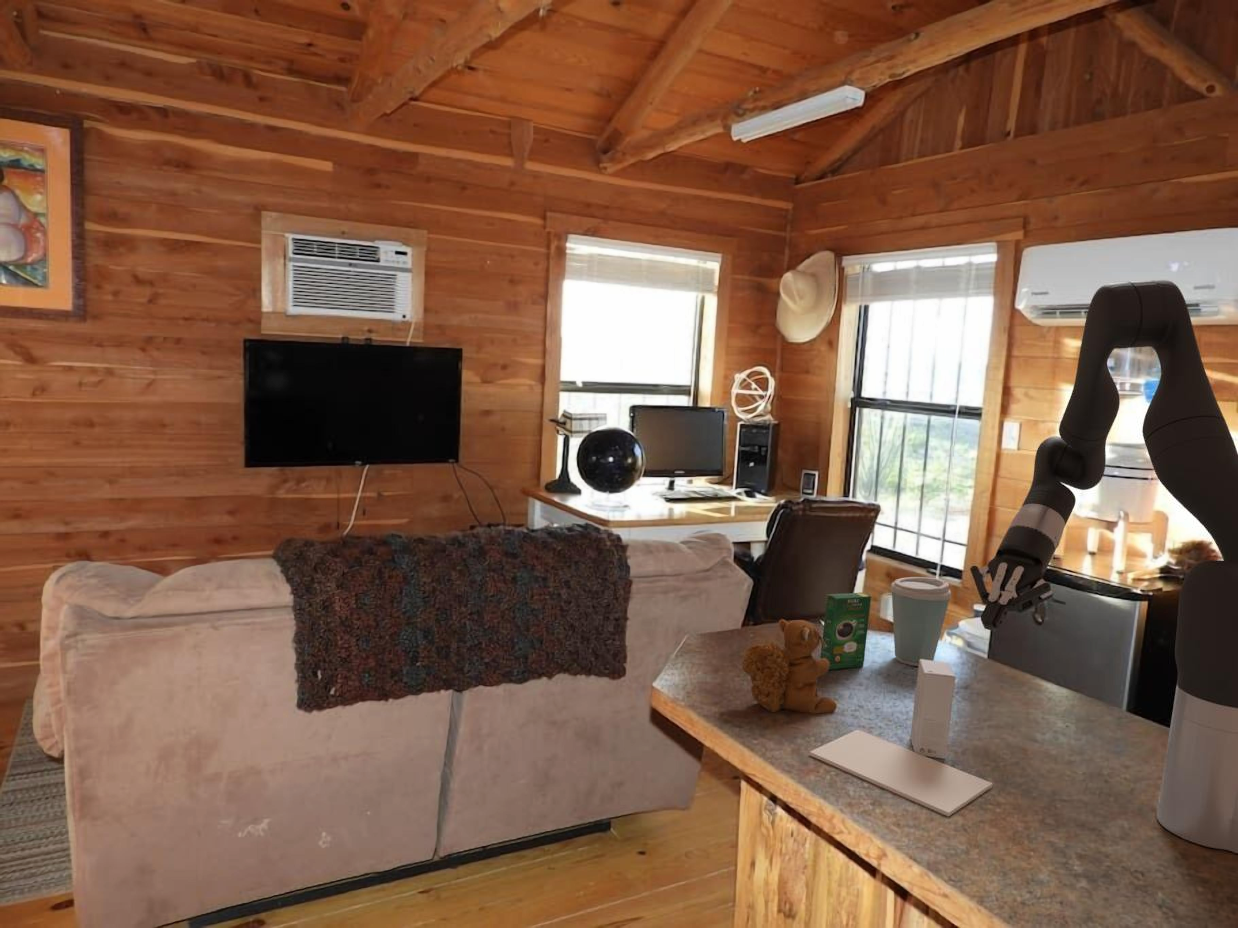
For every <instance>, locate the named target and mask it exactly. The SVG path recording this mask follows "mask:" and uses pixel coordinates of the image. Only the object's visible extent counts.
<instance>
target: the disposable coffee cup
mask: <svg viewBox="0 0 1238 928" xmlns="http://www.w3.org/2000/svg"><path fill="white" fill-rule="evenodd" d="M890 592H891V600H892V602H891V603H892V621H893V623H892V624H893V641H894V656H895V660H897V661H898V662H900V663H902V664H904V665H908V666H914V667H919V660H920V659H924V660H931V661H935V656H936V652H937V649H938V645H939V644H938V643H939V641H940V637H941V633H942V628H943V624H944V621H945V617H946V613H947V611H948V606H949V602H950V599H952V592H951V590H950V585H949V583H948V582H947V581H946V580H942V579H941V578H934V577H923V576H910V577H901V578H900V577H899V578H898V579H895V580H894V581H892V582H891V585H890Z"/></svg>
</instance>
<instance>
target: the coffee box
mask: <svg viewBox="0 0 1238 928" xmlns="http://www.w3.org/2000/svg"><path fill="white" fill-rule="evenodd" d="M826 595H827V596H826V602H825V603H826V604H825V605H826V606H825V614H824V622H823V631H822V638H823V640H824V642H825V644H826V646H827V647H825V645H824V642H823V640H822V642H823V645H824V647H825V648H824V649H823V646H822V645H821V649H820V657H819V659H822V658H826V659H827V660H828V661H829V663H830V667H829V670H828V671H831V670H834V671H835V670H839V669H841V670H842V669H849V668H858V667H864V662H865V656H866V655H865V653H866V644H867V643H866V642H867V635H868V626H869V618H870V611H871V601H872V595H869V594H867V593H864V592H851V593H850V592H849V593H848V592H847V593H831V594H830V593H829V594H826Z"/></svg>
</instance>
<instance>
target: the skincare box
mask: <svg viewBox="0 0 1238 928" xmlns="http://www.w3.org/2000/svg"><path fill="white" fill-rule="evenodd" d="M917 668H918V669H917V678H916V679H917V680H916V685H915V694H914V695H915V696H914V703H913V711H912V712H913V713H912V719H911V720H912V722H911V728H910V737H909V738H910V741H911V743H912V748H913V752H915V753H918V754H920V755H923V756H925V757H929V758H930V757H931V758H938V759H947V751H948V750H947V749H948V742H949V734H950V733H949V732H950V727H951V726H950V725H951V718H952V708H953V702H954V700H953V699H954V692H955V684H956V675H955V673H954V671H953V669H952V667H951V666H950V663H949V662H945V661H938V660H933V661H931V660H924V659H920V660H919V666H918V667H917Z"/></svg>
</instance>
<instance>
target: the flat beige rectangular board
mask: <svg viewBox="0 0 1238 928" xmlns="http://www.w3.org/2000/svg"><path fill="white" fill-rule="evenodd" d="M809 756H810V757H813V758H814V759H818V760H820V761H822V762H824V763H827V764H828V765H830V766H834V767H835V768H838V769H839V770H842V771H845V772H847V773H848V774H851V775H854V776H855V777H858V778H860V779H863V780H864V781H867V782H869V783H872V784H874V785H876V786H878V787H880V788H883V789H886V790H888V791H889V792H892V793H894V794H896V795H899V796H901V797H903V798H906V799H908V800H910V801H912V802H915V803H917V804H919V805H922V806H923V807H926V808H928V809H930V810H932V811H935V812H936V813H940V814H942V815H944V816H946V817H950V816H951V815H953V814H955V813H956V812H957V811H959V810H961V809H962V808H963V807H965V806H966V805H968V804H969V803H971V802H972V801H974V800H975V799H977V798H978V797H980V796H981V795H983V794H984V793H986V792H987V791H989V790H990V789H992V788H993V783H992V782H990V781H987V780H985V779H983V778H980V777H979V776H975V775H973V774H970V773H967V772H965V771H962V770H959V769H957V768H954V767H953V766H949V765H947V764H946V763H942V762H940V761H938V760H935V759H933V758H930V757H929V756H923V755H920V754H918V753H915V752H914V750H913V751H912V750H910V749H907V748H905V747H903V746H900V745H898V744H895V743H892V742H890V741H887V740H885V739H884V738H883V739H882V738H880V737H877V736H875V735H872V734H870V733H867V732H866V731H862V730H860V729H856V730H854V731H851V732H848V733H846V734H845V735H843V736H841V737H839V738H836V739H835V740H832V741H830V742H827V743H825V744H823V745H821V746H819V747H817V748H815V749H812V750H811V751H809Z"/></svg>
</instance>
